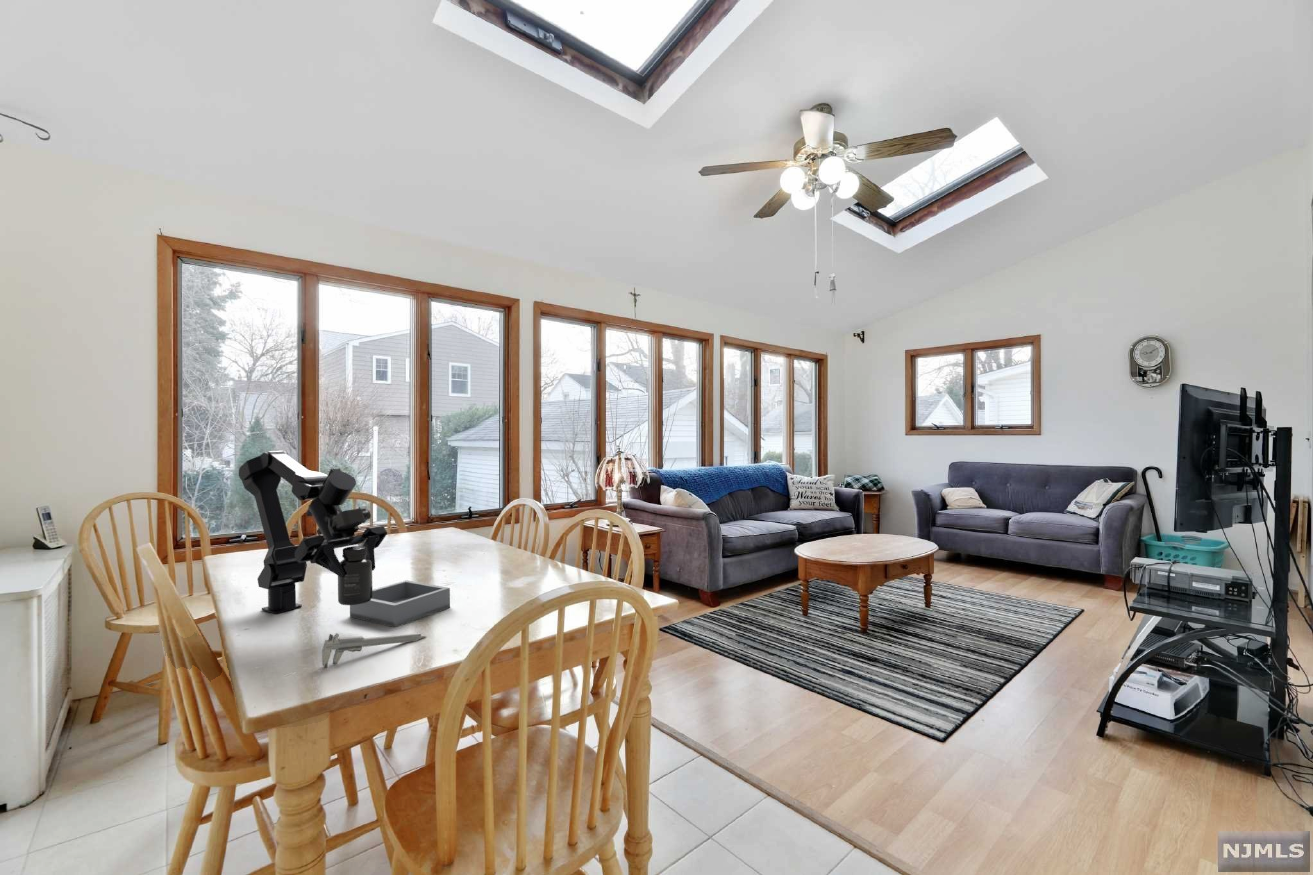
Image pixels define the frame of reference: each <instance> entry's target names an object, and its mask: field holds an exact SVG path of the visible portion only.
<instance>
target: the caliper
mask: <svg viewBox="0 0 1313 875" xmlns="http://www.w3.org/2000/svg"><path fill="white" fill-rule="evenodd" d="M339 636H340V634H339V633H338V632H336V633H335V634H334V635H333V634H332V633H329V635H328V639H325V640H324V643H323V646H322V651H321V654H322V655H321V663H322V666H323V667H324V668H328V665H329V661H330V658H331V653H332V651H334V654H333V658H332V665H333V666H336V665H338V663H339V662H340V660H341V658H342V657H343V654H344V652H345V651H347V652H352V653H354V652H361V651H362V649H363V648H364V647H366V648H367V647H372V646H382V645H390V644H391V645H392V644H402V643H412V642H416V641H420V640H421V639H425V638H426V639H427V636H426V635H424V634H422V633H421V632H420V633H419V632H415V633H414V632H413V633H402V634H395V635H394V634H392V635H384V636H383V635H382V636H373V637H372V636H371V637H363V636H361V635H360V636H349V637H339ZM419 639H420V640H419ZM415 640H416V641H415Z"/></svg>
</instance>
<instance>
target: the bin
mask: <svg viewBox="0 0 1313 875" xmlns="http://www.w3.org/2000/svg"><path fill="white" fill-rule="evenodd" d="M450 608H451V589H450V587H447V586H442V585H441V586H440V585H435V584H430V583H425V582H420V581H413V580H408V579H406V580H403V581H399V582H396V583H392V584H388V585H385V586H381V587H378V588H374V589H373V588H372V599H371V600H370V601H368V602H366V603H362V604H357V605H349V617H350V618H354V619H357V620H363V621H367V622H371V623H374V622H375V624H380V625H382V624H383V626H387V627H392V628H396V627H399V626H402V624H403V625H405V624H409V623H410V622H413V620H414V621H417V620H419V619H423V618H425V617H428V616H430V615H434V614H436V613H439V612H441V611H444V610H447V609H450Z"/></svg>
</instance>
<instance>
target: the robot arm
mask: <svg viewBox="0 0 1313 875" xmlns="http://www.w3.org/2000/svg"><path fill="white" fill-rule="evenodd" d="M238 477H239V480H241V483H242V485H243V488H244V489H245V490H246V491H247V492H248V493H250V494H251V495H252V496H253V497H254V499H255V503H256V507H257V509H258V510H257V511H258V513H259V519H260V522H261V526H262V529H263V534H264V537H265V541H266V545H267V551H266V555H264V556H265V557H264V559H263V569H262V570H261V572H260V573H259V575H258V577H257V584H258V587H259V588H262V589H265V590H267V606H264V607H261V611H264V612H268V613H271V614H280V613H283V612H287V611H290V610H294V609H298V608H301V607H303V604H300V603H297V593H296V592H297V590H296V584H297V583H302V582H305V577H306V572H307V567H308V563H307V562H310V563H311V564H316V565H318V566H320V567H322V568H324V569H325V570H328V571H329V572H331V573H332V574H335V575H336V576H337V577H338V576H340V577H341V578H342V577H344V576H345V573H344V570H343V568H342V566H341V564H340V562H341V561H340V560H339V559H338V556H337V554H336V553H335V552H336V551H335V549H339V548H340V549H341V548H347V547H352V546H366V547H367V555H366V558H369V559H370V560H371V561H372V572H373V571H375V569H376V558H375V549H377V548H378V547H379V546H380V545H381V544H382V542H383V541H384V539H386V536H387V535H388V531H387V529H386V527H385V526H383V525H375V526H369V527H366V528H365V530H364V532H362V534H358V535H356V534H355V533H357V532H358V531H359V530H360V528H359V526H361V525H362V524H365V523H367V522H366V521H368V520H370V519H371V518H372V514H371V510H370V509H369V508H368V507H367V505H364V506H359V507H358V508H354V509H347V510H342V508H341V507H340V506H342V505H344V504H345V503H346V501H347V500H348V499H349V497H350V495H351V494H352V492H353V491H354V488H355V487H356V485H357V480H356V478H355V477H354V476H352V475H351V474H349V473H347V472H344V471H342V470H341V468H330V470H329V472H328V474H326V473H323V472H321V471H316V470H315V471H313V470H309V469H308V468H307V467H305V466H303V464H301V463H299V462H298V461H297V460H295V459H294V458H293V457H291V456H290V455H289V453H288V452H287V451H284V450H268V451H266V452H265V451H264V452H262V453H261V454H260V455H258V456H255V457H253V458H250V459H248V460H246V461H245V462H244V463H243V464H242V465H240V466H239V469H238ZM282 479H284V480H285V481H286V482H287V483H288V484H290V485H291V493H292V494H293V496H295V498H296V499H297V500H299V501H302V502H303V501H311V500H312V501H311V502H310V504H308V509H307V510H306V513H305V516H306V517H313V519H314V522H315V523H316V525H317V527H318V529H317V530H316V533H317V535H313V536H307V537H305V536H304V537H303V538H302V539H301V541H300V543H299V544H298V545H295V544H294V543H293V542H292V541H291V538H290V535H289V531H288V527H287V523H286V519H285V516H284V512H283V507H282V504H281V501H280V499H279V494H278V487H279V485H280V483H281V481H282Z"/></svg>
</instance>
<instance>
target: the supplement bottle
mask: <svg viewBox="0 0 1313 875" xmlns="http://www.w3.org/2000/svg"><path fill="white" fill-rule="evenodd" d="M366 555H367V547H366V546H358V545H351V546H346V547H343V548H342V558H343V559H342V560H341V561H339V562H340V564H341V566H342V568H343V570H344V573H345V576H344V577H342V578H341V577H340V576H338V575H337V599H338V600H337V602H338V604H340V605H342V606H350V605H357V604H362V603H366V602H368V601H370V600H371V599H372V590H373V571H372V561H371V560H370V559H369V558H366Z"/></svg>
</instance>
